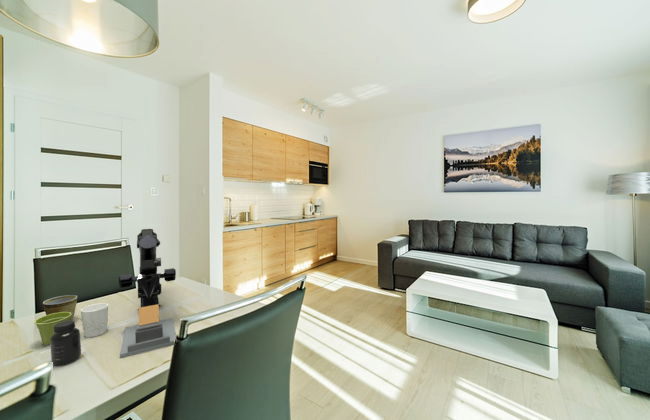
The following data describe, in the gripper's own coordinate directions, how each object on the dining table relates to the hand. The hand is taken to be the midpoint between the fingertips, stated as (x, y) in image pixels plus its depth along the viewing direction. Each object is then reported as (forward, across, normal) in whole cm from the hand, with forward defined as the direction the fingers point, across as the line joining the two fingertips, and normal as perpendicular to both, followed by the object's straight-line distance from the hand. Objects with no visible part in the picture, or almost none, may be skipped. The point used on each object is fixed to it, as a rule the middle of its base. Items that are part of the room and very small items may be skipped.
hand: (149, 297), depth 103 cm
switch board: (+13, 0, +7) cm, 14 cm away
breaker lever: (+11, 0, -1) cm, 11 cm away
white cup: (+3, -17, +17) cm, 24 cm away
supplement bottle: (+15, -22, +5) cm, 27 cm away
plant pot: (+2, -29, +17) cm, 33 cm away
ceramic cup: (-10, -31, +29) cm, 44 cm away
